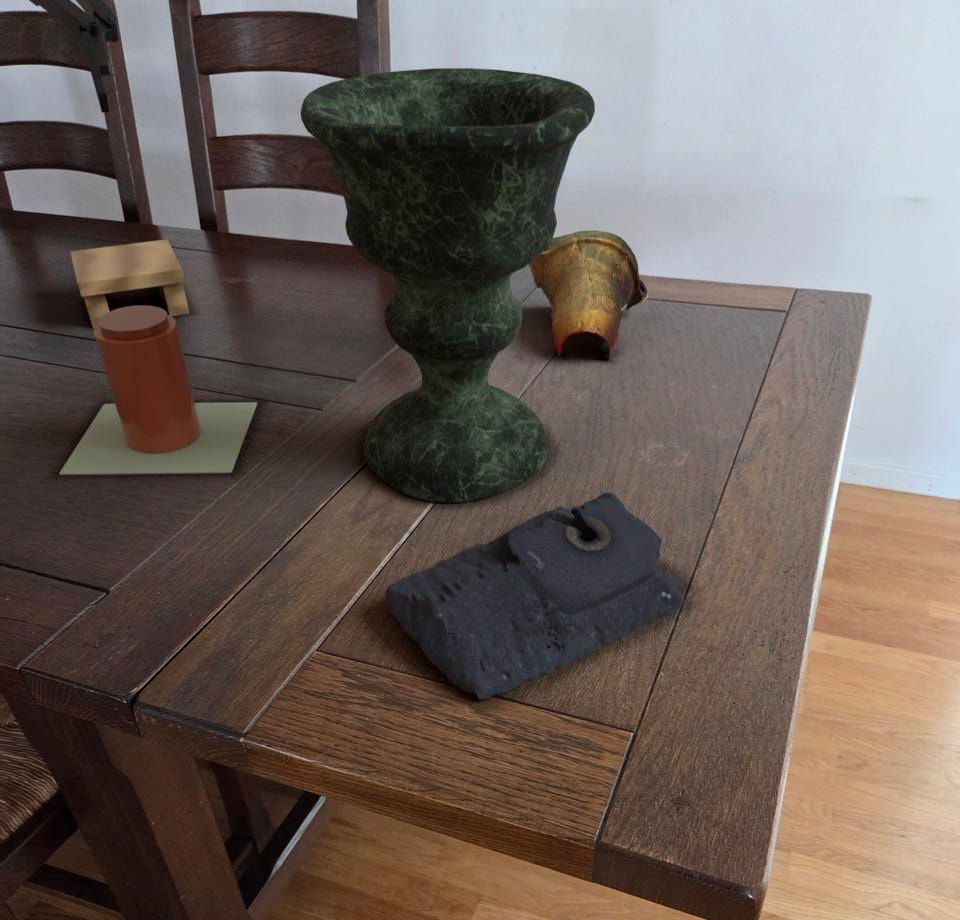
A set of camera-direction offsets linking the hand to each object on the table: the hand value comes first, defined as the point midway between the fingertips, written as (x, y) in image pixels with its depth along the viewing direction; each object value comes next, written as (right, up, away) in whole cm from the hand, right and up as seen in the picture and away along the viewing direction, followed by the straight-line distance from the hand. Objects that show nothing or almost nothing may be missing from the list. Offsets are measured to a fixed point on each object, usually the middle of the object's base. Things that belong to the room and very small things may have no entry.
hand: (31, 109), depth 87 cm
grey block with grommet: (+48, -49, -17) cm, 71 cm away
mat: (+13, -32, +2) cm, 34 cm away
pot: (+56, -14, +22) cm, 62 cm away
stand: (0, -9, +27) cm, 28 cm away
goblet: (+42, -34, 0) cm, 53 cm away
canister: (+13, -32, +1) cm, 34 cm away
